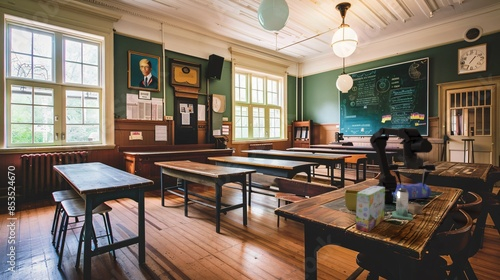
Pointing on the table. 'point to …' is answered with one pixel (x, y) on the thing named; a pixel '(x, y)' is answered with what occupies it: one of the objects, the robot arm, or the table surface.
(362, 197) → the snack box
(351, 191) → the flower pot
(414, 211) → the walnut block
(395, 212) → the mat
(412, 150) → the robot arm
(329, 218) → the table surface
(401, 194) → the bottle
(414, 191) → the pencil case
